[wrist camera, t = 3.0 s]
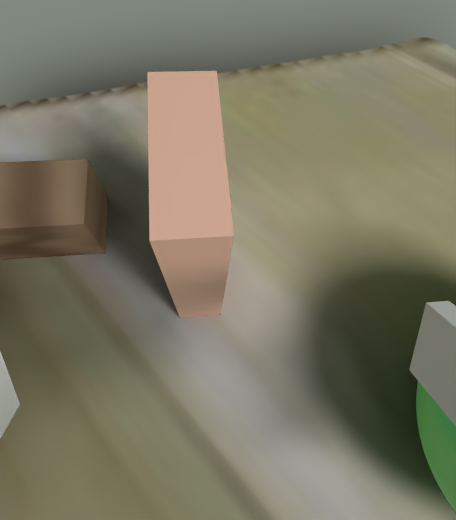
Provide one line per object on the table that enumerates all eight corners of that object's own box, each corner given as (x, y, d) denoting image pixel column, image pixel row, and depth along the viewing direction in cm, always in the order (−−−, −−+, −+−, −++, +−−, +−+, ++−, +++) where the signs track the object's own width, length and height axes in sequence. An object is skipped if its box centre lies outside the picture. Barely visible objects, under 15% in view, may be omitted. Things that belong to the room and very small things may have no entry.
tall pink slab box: (179, 317, 25) (149, 240, 12) (175, 220, 28) (147, 72, 15) (220, 314, 25) (233, 235, 12) (212, 218, 28) (216, 70, 15)
